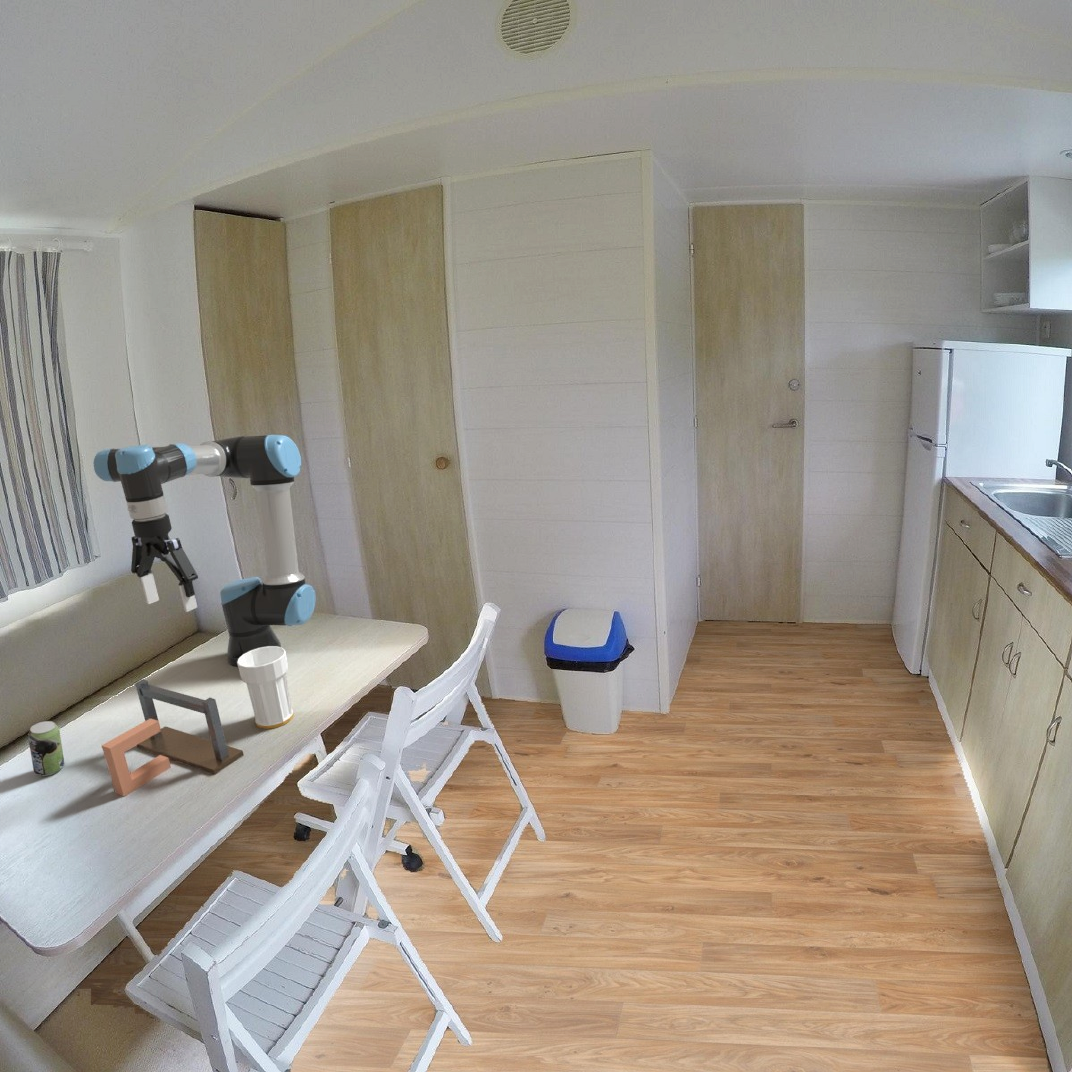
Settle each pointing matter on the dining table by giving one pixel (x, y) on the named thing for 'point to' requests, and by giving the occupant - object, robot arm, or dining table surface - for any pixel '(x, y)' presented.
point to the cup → (267, 685)
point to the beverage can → (46, 748)
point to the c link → (118, 765)
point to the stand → (182, 744)
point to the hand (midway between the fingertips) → (171, 605)
